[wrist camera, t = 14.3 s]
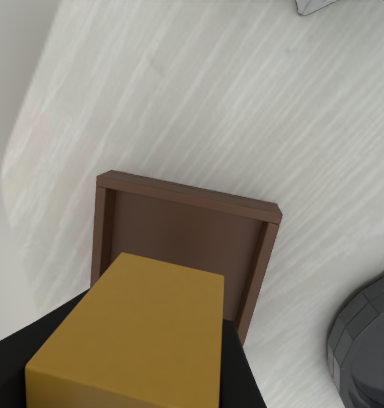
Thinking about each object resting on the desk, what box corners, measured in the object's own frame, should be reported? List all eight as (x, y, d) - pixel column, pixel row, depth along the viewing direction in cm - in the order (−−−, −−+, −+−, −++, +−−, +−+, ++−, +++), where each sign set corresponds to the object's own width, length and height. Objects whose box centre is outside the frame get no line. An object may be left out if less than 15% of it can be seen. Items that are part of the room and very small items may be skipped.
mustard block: (113, 332, 11) (28, 485, 6) (121, 251, 10) (23, 365, 5) (204, 356, 11) (184, 534, 6) (224, 274, 10) (219, 421, 5)
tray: (231, 360, 19) (231, 384, 17) (99, 326, 20) (86, 346, 18) (277, 203, 15) (283, 214, 13) (111, 169, 16) (96, 175, 14)
